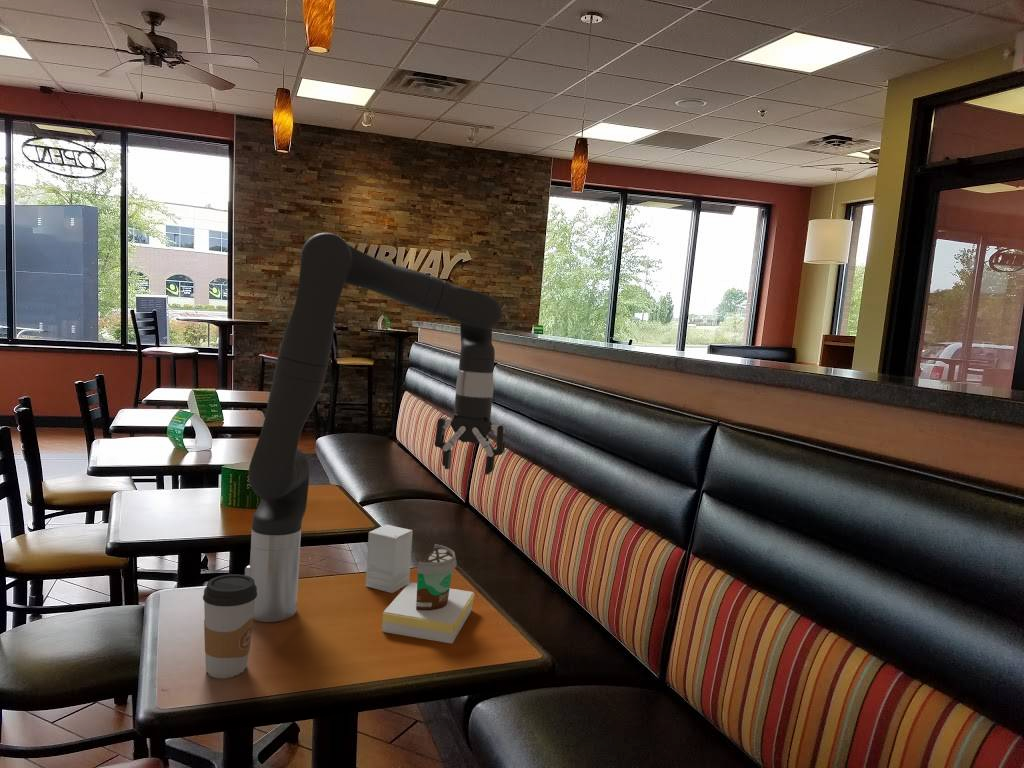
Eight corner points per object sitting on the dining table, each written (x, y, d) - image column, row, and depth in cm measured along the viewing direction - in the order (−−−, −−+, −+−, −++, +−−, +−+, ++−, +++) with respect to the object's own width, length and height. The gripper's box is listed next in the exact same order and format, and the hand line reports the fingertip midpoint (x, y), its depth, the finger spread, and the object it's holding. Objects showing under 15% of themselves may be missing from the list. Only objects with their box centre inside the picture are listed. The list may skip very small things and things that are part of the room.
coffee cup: (235, 686, 112) (240, 596, 110) (188, 677, 113) (192, 588, 112) (262, 661, 120) (267, 577, 119) (218, 653, 121) (222, 570, 120)
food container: (444, 617, 134) (448, 567, 133) (413, 612, 135) (417, 562, 134) (459, 593, 147) (463, 547, 146) (431, 589, 147) (435, 543, 147)
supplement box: (410, 583, 160) (414, 529, 159) (391, 594, 153) (396, 538, 152) (383, 576, 163) (387, 523, 161) (363, 586, 156) (367, 531, 155)
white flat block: (381, 632, 135) (382, 612, 134) (408, 599, 151) (409, 581, 150) (453, 644, 132) (455, 624, 132) (473, 610, 148) (474, 592, 148)
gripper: (435, 391, 140) (428, 470, 142) (505, 398, 138) (497, 479, 139) (445, 387, 147) (439, 463, 149) (511, 395, 145) (504, 471, 147)
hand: (467, 471), depth 144 cm, fingers open, 8 cm apart
